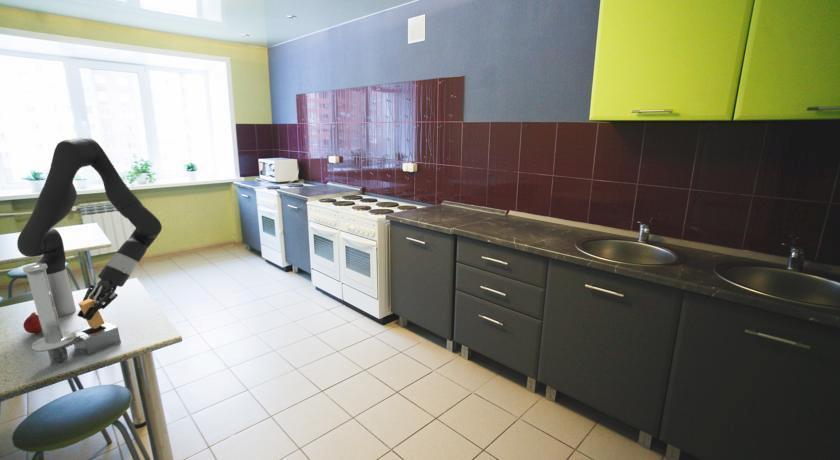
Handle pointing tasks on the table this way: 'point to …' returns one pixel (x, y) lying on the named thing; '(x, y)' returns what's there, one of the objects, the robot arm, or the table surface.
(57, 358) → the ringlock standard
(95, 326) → the orange block
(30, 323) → the pomegranate
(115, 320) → the table surface
